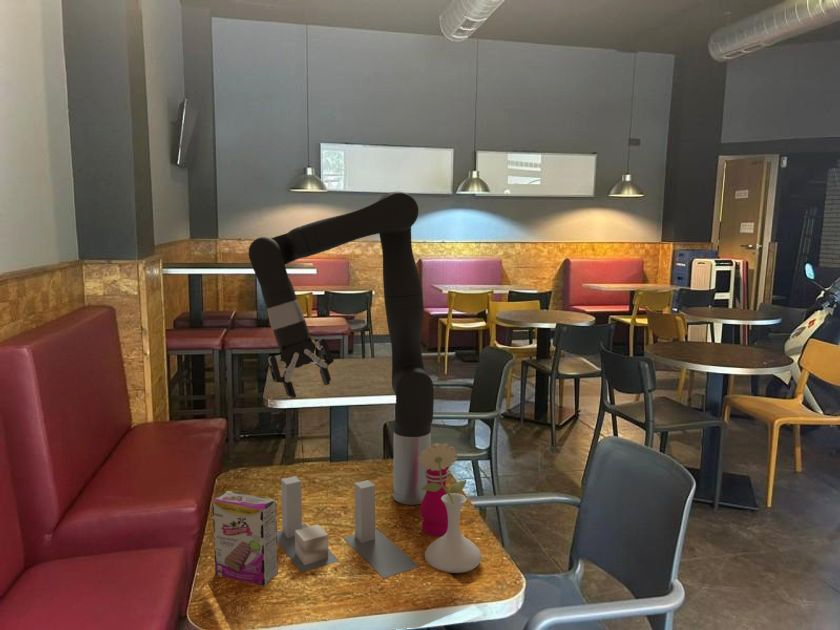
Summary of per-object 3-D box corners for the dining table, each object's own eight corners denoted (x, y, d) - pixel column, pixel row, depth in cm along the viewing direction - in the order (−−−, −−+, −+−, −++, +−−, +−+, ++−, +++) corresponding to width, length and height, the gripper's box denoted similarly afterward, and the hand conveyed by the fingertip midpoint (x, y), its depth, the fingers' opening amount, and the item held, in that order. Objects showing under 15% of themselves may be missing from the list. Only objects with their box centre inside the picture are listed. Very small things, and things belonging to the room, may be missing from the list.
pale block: (318, 547, 127) (318, 524, 127) (328, 558, 123) (327, 534, 123) (295, 553, 125) (294, 530, 124) (304, 565, 121) (304, 541, 120)
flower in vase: (483, 551, 129) (486, 436, 125) (478, 582, 118) (481, 456, 114) (421, 545, 131) (422, 432, 128) (411, 575, 120) (412, 451, 117)
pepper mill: (427, 540, 134) (428, 451, 131) (414, 525, 140) (415, 440, 137) (457, 533, 136) (459, 446, 134) (443, 519, 143) (444, 436, 140)
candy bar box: (213, 581, 117) (210, 500, 115) (230, 568, 122) (227, 489, 120) (264, 593, 114) (262, 509, 111) (279, 579, 118) (277, 498, 116)
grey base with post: (376, 533, 136) (375, 476, 134) (419, 571, 121) (419, 508, 119) (342, 542, 132) (342, 484, 130) (383, 584, 117) (383, 518, 115)
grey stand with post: (305, 528, 138) (304, 472, 136) (339, 566, 123) (338, 503, 121) (270, 538, 133) (268, 480, 132) (301, 578, 118) (299, 513, 116)
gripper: (263, 331, 133) (287, 402, 134) (322, 312, 140) (344, 380, 141) (254, 334, 140) (276, 401, 141) (311, 315, 147) (332, 380, 148)
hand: (310, 390), depth 141 cm, fingers open, 8 cm apart
